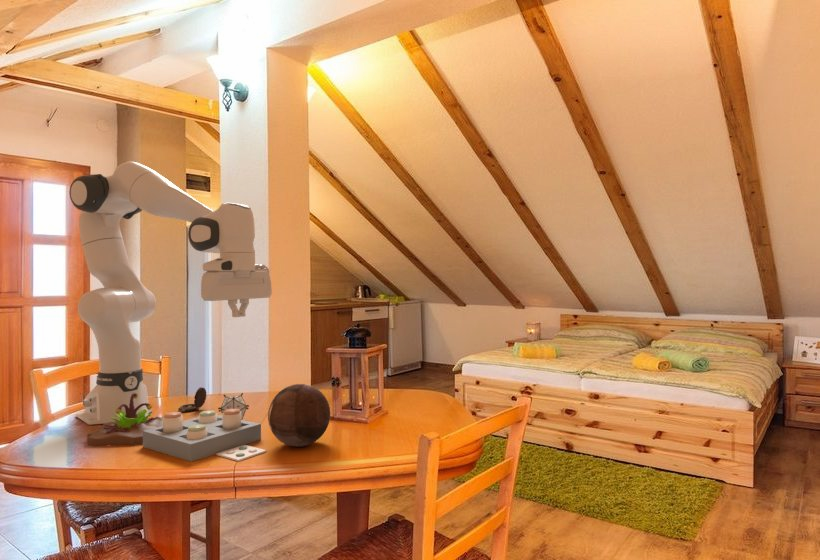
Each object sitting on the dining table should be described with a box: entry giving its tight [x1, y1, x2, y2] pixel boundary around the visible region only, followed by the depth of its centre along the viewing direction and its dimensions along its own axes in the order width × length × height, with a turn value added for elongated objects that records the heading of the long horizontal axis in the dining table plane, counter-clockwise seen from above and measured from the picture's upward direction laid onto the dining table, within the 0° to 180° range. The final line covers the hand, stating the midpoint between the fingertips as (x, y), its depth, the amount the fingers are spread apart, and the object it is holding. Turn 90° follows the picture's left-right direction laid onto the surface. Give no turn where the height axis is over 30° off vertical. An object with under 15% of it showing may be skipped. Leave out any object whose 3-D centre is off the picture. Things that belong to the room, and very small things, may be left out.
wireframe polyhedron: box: [217, 392, 250, 420], centre depth 159 cm, size 9×8×10 cm
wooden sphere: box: [267, 383, 331, 448], centre depth 137 cm, size 15×15×15 cm
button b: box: [198, 410, 218, 424], centre depth 147 cm, size 5×5×6 cm
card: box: [216, 444, 267, 462], centre depth 131 cm, size 8×8×1 cm
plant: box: [86, 393, 163, 447], centre depth 149 cm, size 20×20×11 cm
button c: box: [187, 425, 207, 441], centre depth 133 cm, size 5×5×6 cm
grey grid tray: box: [142, 414, 262, 462], centre depth 140 cm, size 20×20×4 cm
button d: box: [221, 409, 242, 430], centre depth 141 cm, size 5×5×6 cm
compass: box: [177, 386, 207, 413], centre depth 174 cm, size 8×8×7 cm
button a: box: [162, 411, 184, 434], centre depth 139 cm, size 5×5×6 cm
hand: (238, 316), depth 146 cm, fingers closed
